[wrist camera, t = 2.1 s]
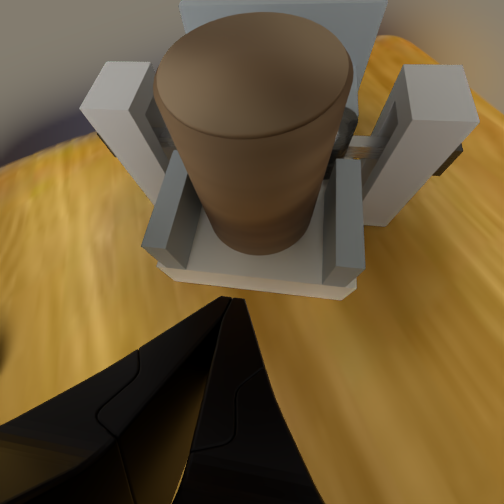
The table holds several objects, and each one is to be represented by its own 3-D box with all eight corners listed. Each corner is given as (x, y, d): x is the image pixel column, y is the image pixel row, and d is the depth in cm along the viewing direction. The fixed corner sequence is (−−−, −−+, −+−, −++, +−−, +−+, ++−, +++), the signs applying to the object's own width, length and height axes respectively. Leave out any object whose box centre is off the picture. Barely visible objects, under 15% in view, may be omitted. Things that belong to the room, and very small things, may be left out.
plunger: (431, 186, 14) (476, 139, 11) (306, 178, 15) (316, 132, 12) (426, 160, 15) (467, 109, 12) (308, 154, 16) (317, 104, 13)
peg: (291, 271, 13) (320, 164, 6) (191, 234, 15) (109, 109, 7) (324, 182, 16) (376, 22, 8) (234, 157, 17) (206, -1, 9)
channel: (392, 306, 15) (537, 248, 7) (133, 276, 17) (7, 203, 9) (377, 134, 21) (449, -12, 13) (183, 126, 23) (133, -4, 15)
